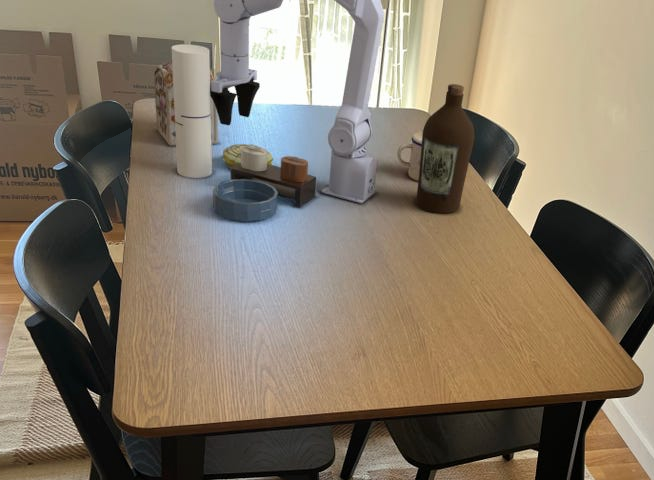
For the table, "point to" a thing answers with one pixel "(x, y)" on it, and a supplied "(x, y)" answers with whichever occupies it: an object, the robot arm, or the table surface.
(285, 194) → the rack
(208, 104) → the cylindrical container
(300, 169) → the brown rounded block
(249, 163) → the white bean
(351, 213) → the table surface
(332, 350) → the table surface
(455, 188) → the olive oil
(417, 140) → the teacup with lid
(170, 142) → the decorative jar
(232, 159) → the decorated donut
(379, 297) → the table surface
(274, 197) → the bowl
